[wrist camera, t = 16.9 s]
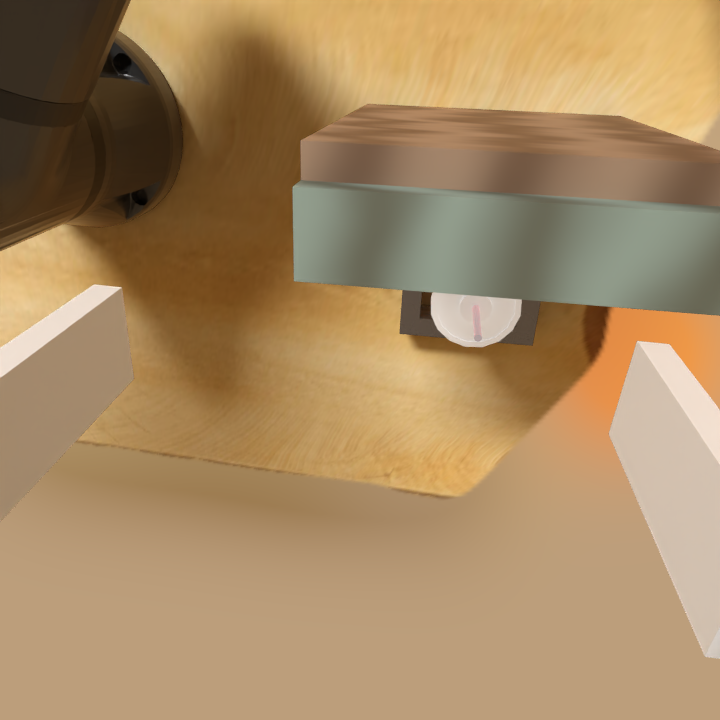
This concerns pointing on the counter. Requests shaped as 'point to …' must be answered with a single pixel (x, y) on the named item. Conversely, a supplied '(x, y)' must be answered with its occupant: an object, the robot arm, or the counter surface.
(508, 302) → the beverage cup
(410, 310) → the socket collar
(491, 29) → the counter surface
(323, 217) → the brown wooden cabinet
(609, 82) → the counter surface
